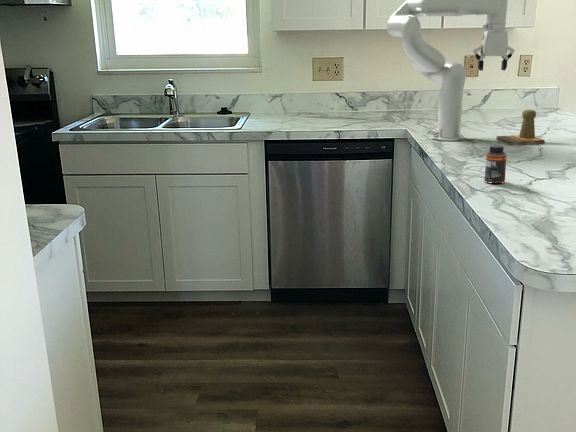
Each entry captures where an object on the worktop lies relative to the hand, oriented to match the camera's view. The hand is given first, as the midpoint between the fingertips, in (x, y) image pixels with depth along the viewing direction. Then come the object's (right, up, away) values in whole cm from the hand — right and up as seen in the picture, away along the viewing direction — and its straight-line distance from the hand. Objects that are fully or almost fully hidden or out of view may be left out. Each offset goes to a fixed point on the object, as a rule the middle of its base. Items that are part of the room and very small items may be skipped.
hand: (492, 70), depth 262 cm
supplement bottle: (-23, -51, -71) cm, 90 cm away
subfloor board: (+8, -31, -9) cm, 33 cm away
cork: (+11, -29, -9) cm, 33 cm away
